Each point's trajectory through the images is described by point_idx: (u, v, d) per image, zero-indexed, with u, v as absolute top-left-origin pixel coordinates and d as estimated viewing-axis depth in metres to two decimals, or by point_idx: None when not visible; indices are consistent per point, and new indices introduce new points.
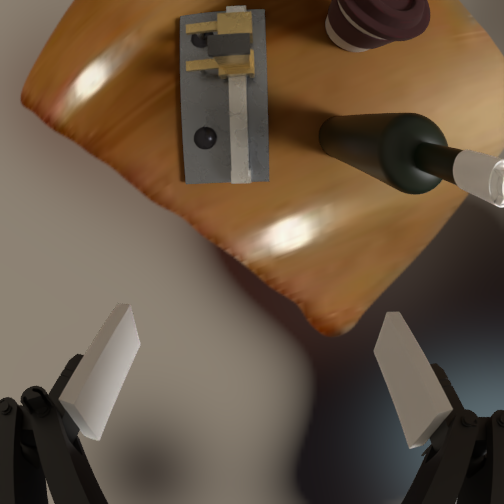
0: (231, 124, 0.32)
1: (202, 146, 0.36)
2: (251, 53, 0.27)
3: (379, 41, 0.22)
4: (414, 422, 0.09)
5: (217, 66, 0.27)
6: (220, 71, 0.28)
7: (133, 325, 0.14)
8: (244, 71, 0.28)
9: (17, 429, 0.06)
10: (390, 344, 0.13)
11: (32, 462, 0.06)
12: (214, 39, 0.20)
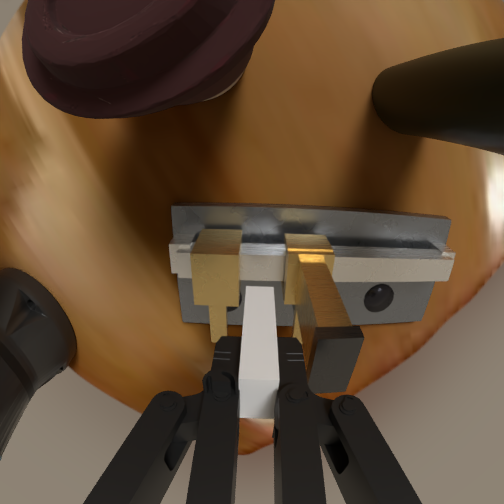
0: (384, 279, 0.21)
1: (388, 302, 0.25)
2: (297, 255, 0.18)
3: None
4: None
5: None
6: None
7: None
8: (329, 268, 0.19)
9: (173, 432, 0.08)
10: None
11: (167, 460, 0.08)
12: (317, 385, 0.12)
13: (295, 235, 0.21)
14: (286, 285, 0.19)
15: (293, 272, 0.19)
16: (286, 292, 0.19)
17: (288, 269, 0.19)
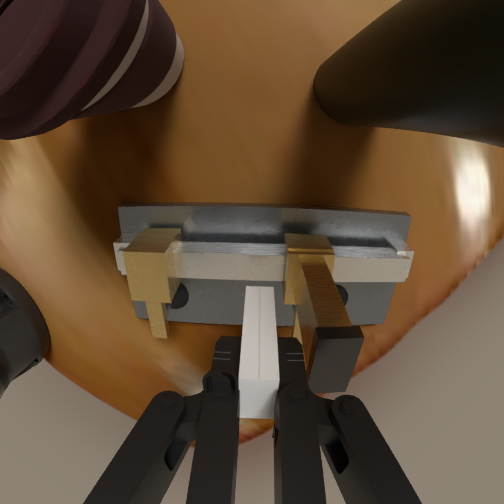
0: None
1: None
2: (297, 255, 0.18)
3: (155, 16, 0.09)
4: None
5: None
6: None
7: None
8: (329, 269, 0.19)
9: (173, 432, 0.08)
10: None
11: (167, 460, 0.08)
12: (317, 385, 0.12)
13: (295, 235, 0.21)
14: (286, 285, 0.19)
15: (293, 272, 0.19)
16: (286, 292, 0.19)
17: (288, 269, 0.19)
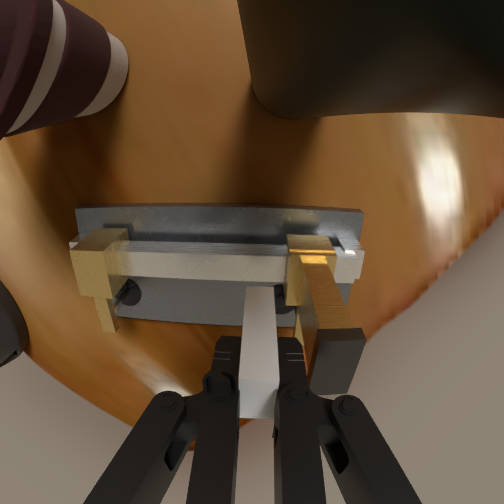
0: (265, 279, 0.21)
1: None
2: (298, 256, 0.18)
3: (73, 37, 0.09)
4: None
5: None
6: None
7: None
8: (330, 270, 0.18)
9: (173, 432, 0.08)
10: None
11: (167, 460, 0.08)
12: (319, 387, 0.12)
13: (297, 236, 0.21)
14: (288, 286, 0.19)
15: (295, 273, 0.19)
16: (288, 293, 0.19)
17: (290, 270, 0.19)
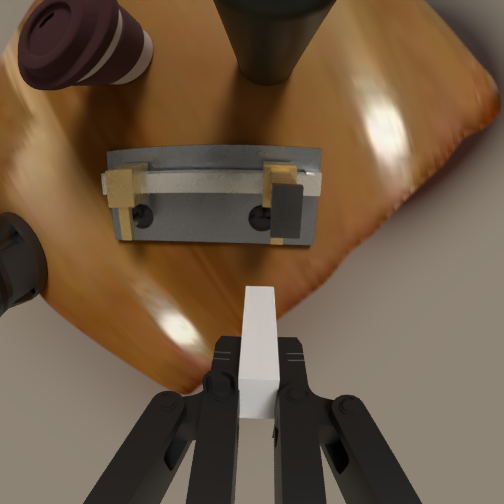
0: (247, 191, 0.28)
1: None
2: (269, 168, 0.26)
3: (126, 26, 0.17)
4: None
5: None
6: None
7: None
8: (293, 178, 0.26)
9: (172, 432, 0.08)
10: None
11: (167, 460, 0.08)
12: (277, 229, 0.20)
13: None
14: (263, 191, 0.27)
15: (267, 181, 0.26)
16: (263, 197, 0.27)
17: (264, 178, 0.26)
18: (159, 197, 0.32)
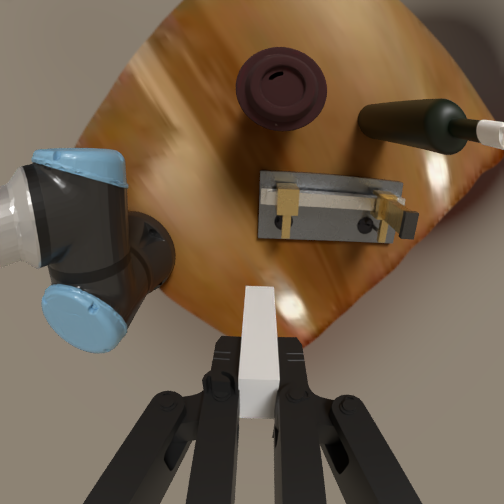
0: (365, 209, 0.43)
1: (371, 228, 0.47)
2: (383, 196, 0.40)
3: None
4: None
5: None
6: None
7: None
8: None
9: (172, 432, 0.08)
10: None
11: (167, 460, 0.08)
12: (405, 234, 0.34)
13: (378, 190, 0.43)
14: (378, 210, 0.41)
15: (381, 204, 0.41)
16: (378, 213, 0.41)
17: (380, 202, 0.40)
18: (299, 208, 0.46)
